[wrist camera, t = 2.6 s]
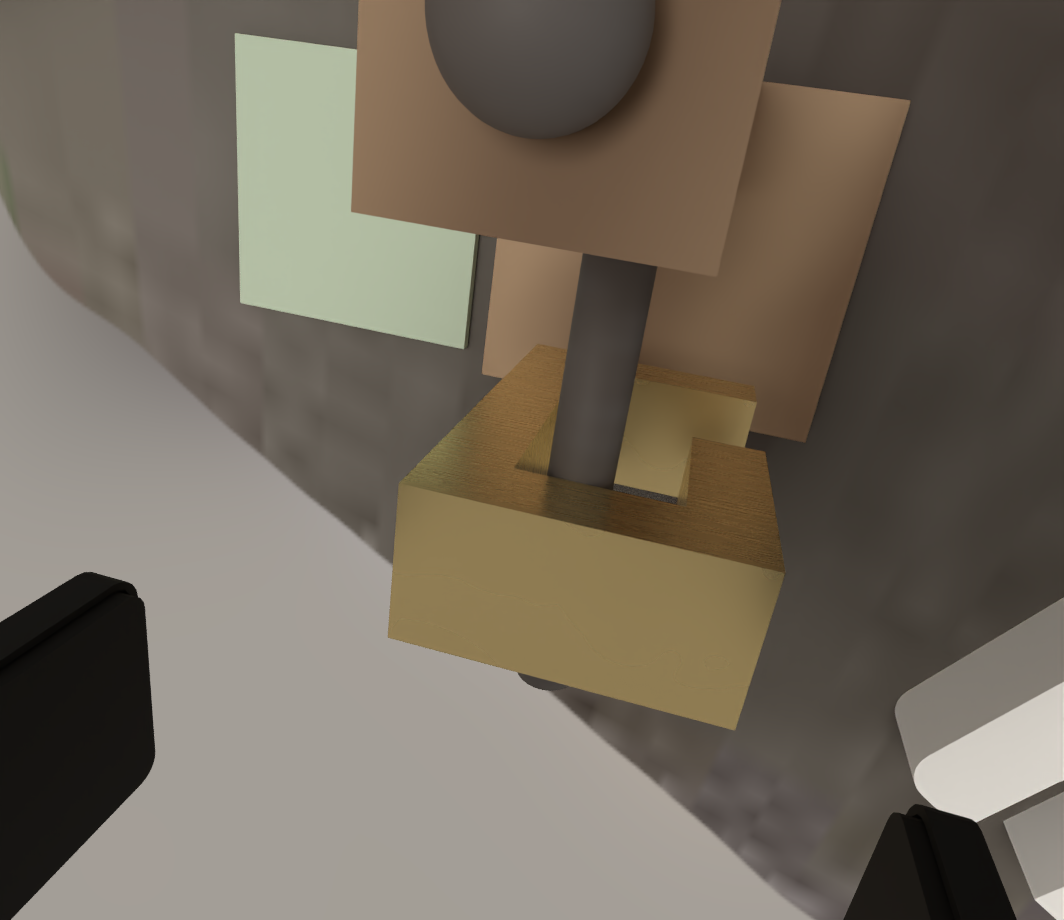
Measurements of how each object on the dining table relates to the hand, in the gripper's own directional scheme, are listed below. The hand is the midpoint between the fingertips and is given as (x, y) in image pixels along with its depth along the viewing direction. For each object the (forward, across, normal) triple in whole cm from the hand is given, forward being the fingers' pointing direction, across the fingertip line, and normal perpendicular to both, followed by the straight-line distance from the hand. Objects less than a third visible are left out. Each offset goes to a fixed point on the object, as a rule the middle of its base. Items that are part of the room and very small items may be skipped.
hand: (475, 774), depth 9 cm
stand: (+18, 0, -4) cm, 19 cm away
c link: (+13, 0, -1) cm, 13 cm away
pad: (+18, +11, -5) cm, 22 cm away
